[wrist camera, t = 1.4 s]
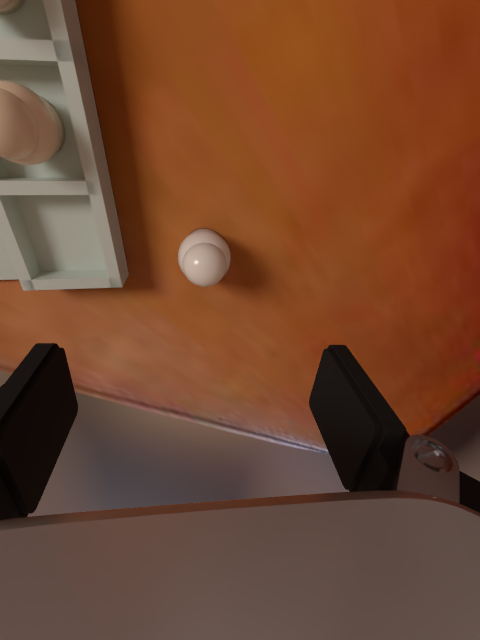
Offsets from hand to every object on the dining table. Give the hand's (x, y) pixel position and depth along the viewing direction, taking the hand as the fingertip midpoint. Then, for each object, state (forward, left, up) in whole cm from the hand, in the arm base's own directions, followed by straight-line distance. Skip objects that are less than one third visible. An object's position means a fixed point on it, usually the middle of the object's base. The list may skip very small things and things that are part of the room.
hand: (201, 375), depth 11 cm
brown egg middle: (+12, -8, -20) cm, 24 cm away
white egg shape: (0, +2, -21) cm, 21 cm away
